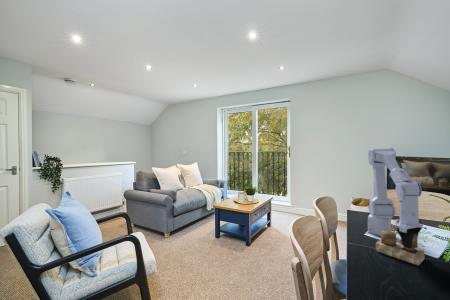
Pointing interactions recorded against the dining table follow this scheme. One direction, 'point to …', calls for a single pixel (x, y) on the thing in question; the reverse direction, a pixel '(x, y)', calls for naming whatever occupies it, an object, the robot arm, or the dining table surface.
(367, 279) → the dining table surface
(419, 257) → the wooden toy block
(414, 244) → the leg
